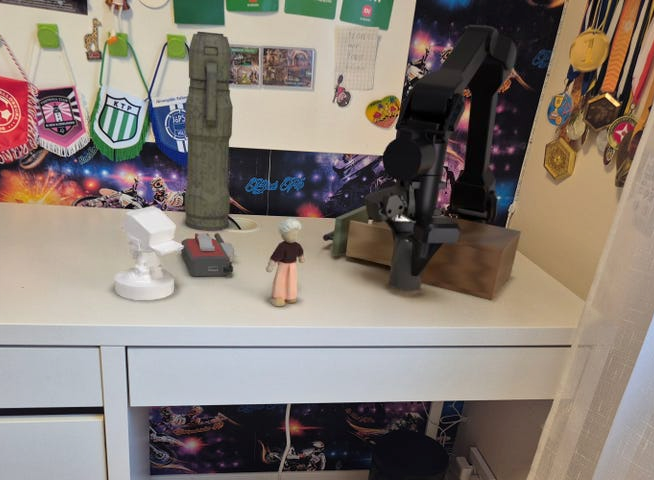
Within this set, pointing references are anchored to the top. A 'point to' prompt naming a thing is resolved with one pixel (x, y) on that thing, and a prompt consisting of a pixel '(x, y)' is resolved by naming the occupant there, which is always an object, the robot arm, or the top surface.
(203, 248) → the walkie-talkie
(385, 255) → the drawer
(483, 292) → the cabinet
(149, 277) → the character figurine
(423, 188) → the robot arm
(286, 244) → the grandmother figurine
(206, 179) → the thermos
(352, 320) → the top surface
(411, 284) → the cup
